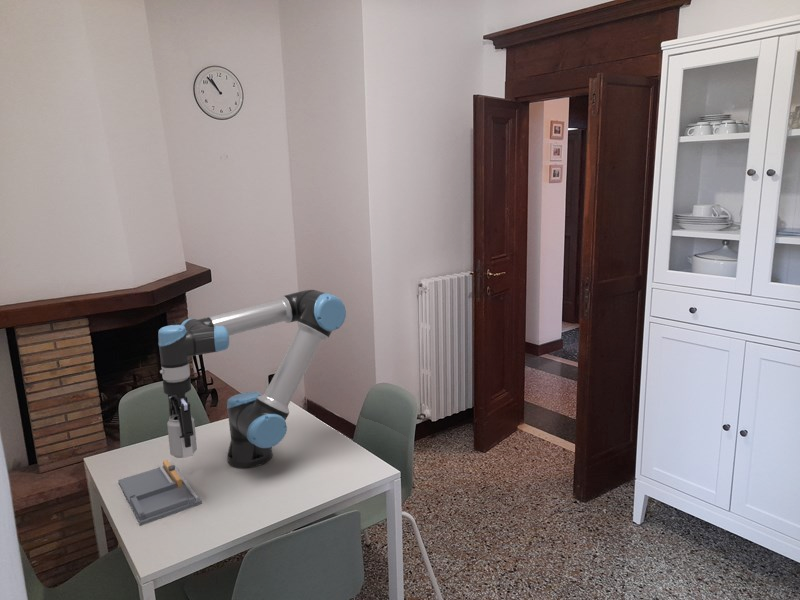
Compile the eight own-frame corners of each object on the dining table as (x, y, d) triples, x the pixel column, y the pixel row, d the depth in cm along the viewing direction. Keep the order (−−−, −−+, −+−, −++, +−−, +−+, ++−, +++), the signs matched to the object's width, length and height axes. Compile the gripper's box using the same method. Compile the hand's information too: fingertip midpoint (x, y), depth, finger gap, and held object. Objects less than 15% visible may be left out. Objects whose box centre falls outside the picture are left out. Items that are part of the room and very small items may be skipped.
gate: (183, 485, 179) (182, 475, 178) (176, 487, 178) (175, 478, 177) (168, 465, 193) (167, 456, 192) (162, 467, 191) (161, 458, 191)
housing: (202, 503, 170) (201, 496, 170) (140, 525, 160) (139, 517, 160) (173, 465, 195) (172, 459, 194) (118, 482, 185) (117, 475, 184)
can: (174, 448, 173) (170, 411, 171) (199, 447, 174) (196, 410, 172) (167, 460, 166) (163, 421, 164) (193, 458, 167) (189, 419, 165)
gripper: (153, 372, 171) (161, 443, 176) (173, 390, 156) (181, 467, 160) (179, 367, 176) (185, 437, 180) (201, 384, 160) (207, 460, 164)
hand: (183, 451), depth 170 cm, fingers closed on can, 7 cm apart
